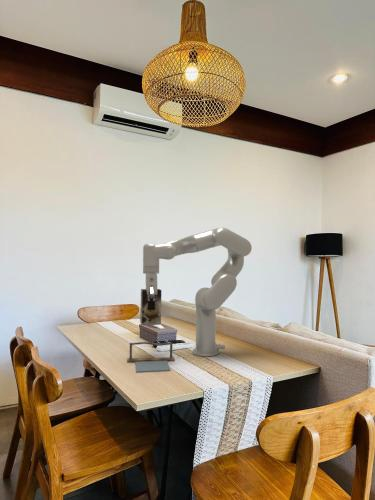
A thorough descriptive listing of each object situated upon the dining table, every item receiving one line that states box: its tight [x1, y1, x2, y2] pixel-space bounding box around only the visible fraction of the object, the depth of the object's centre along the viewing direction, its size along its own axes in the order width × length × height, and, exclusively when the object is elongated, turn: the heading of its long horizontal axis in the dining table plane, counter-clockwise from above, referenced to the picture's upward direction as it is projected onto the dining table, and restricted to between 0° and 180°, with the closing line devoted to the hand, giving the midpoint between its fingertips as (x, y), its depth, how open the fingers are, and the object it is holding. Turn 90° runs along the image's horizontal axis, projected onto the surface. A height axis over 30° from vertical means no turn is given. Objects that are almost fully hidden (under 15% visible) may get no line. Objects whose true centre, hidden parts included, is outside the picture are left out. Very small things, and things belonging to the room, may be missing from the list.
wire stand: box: [126, 341, 176, 364], centre depth 154 cm, size 21×4×8 cm, turn 98°
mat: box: [135, 361, 171, 373], centre depth 146 cm, size 14×12×1 cm
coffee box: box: [139, 288, 162, 326], centre depth 161 cm, size 9×6×16 cm
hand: (150, 308), depth 161 cm, fingers closed on coffee box, 6 cm apart
